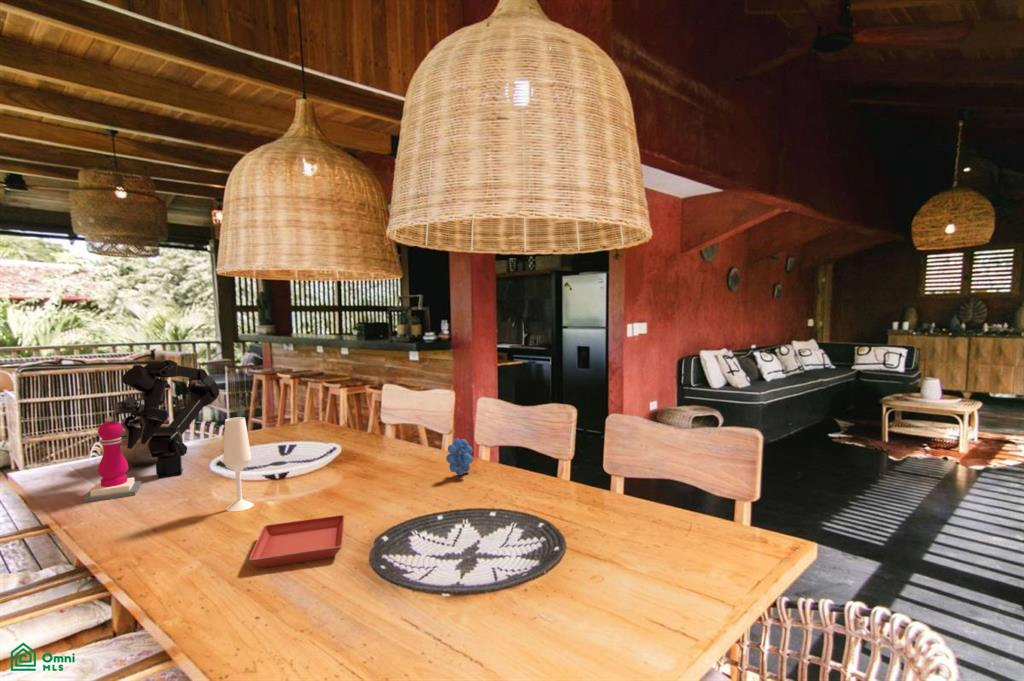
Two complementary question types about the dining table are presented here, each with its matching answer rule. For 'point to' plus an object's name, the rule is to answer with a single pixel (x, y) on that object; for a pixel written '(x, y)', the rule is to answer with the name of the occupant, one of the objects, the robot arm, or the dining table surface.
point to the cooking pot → (137, 451)
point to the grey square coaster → (112, 491)
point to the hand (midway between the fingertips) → (135, 446)
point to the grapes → (459, 456)
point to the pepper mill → (112, 454)
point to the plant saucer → (298, 541)
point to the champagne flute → (237, 456)
